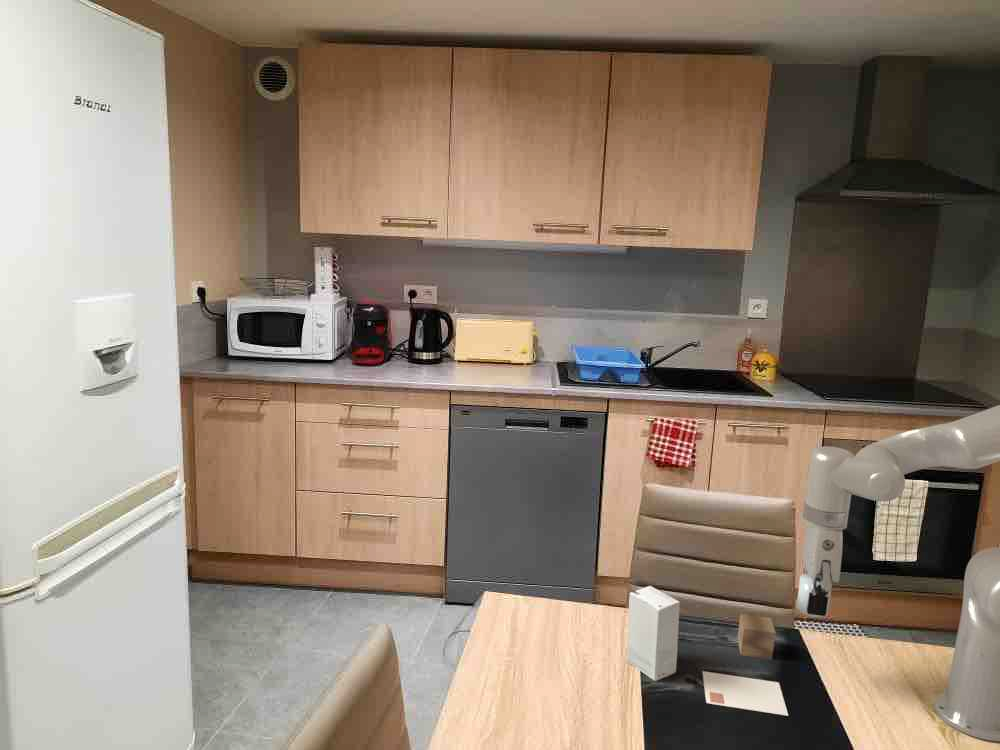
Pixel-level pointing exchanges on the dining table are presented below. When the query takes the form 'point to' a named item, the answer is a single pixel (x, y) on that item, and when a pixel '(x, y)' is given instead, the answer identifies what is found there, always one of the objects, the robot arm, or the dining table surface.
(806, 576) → the grey rounded cylinder
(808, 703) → the dining table surface
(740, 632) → the walnut block
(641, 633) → the skincare box
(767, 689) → the letter
